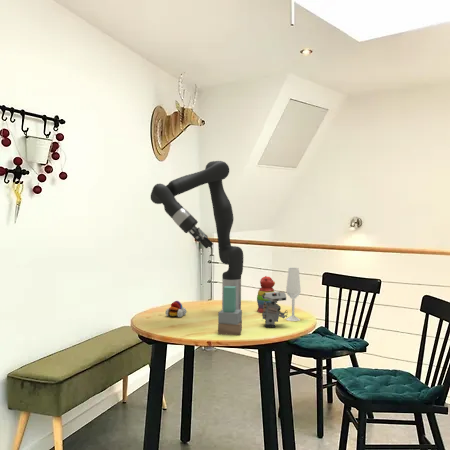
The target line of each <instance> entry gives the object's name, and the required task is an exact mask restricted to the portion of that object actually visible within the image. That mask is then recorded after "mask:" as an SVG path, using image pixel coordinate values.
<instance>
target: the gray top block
mask: <svg viewBox="0 0 450 450" xmlns="http://www.w3.org/2000/svg"><path fill="white" fill-rule="evenodd" d="M242 311H243V310H242V309H241V310H236V311H235V312H223V310H222V309H221V310H219V312H218V314H217V316H218V317H217V318H218V321H217V322H218V323H219V324H234V325H238V324H239V323H240V322H241V321H242V322H243V319H242V318H243V312H242Z"/></svg>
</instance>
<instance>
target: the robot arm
mask: <svg viewBox="0 0 450 450" xmlns="http://www.w3.org/2000/svg"><path fill="white" fill-rule="evenodd" d="M204 168H205V169H203V170H201V171H196V172H193V173H190V174H186V175H183V176H180V177H178V178H174V179H173V180H170V181H169V183H168V184H166V185H165V184H163V183H156V184H155V185H154V186H153V187H152V190H151V193H150V200H151V202H152V203H154V204H156V205H161V204H162V205H163V208H164V212H166V214H167V215H168V216H169V217H170V218H171V219H172V221H174V223H175V224H176V225H177V226H178V227H179V228H180V229H181V230H182V232H184V233H185V234H188V233H189V234H190V235H191V236H192V237H193V238H194V240H195V241H196V242H198V243H200V244H201V245H202V246H203V247H204V248H205V249H208V248H211V247H212V246H213V245H214V243H213V242H212V241H211V240H210V239H209V238H208V237H209V236H208V235H207V234H206V233H205V232H204V231H203V230H202V229H201V228H200V227H197V226H196V225H197V224H198V222H199V221H198V220H197V219H196V218H195V217H194V216H193V215H192V214H191V213H190V212H189V211H188V210H187V209H186V208H184V206H182V204H181V203H180V202H179V201H177V199H176V196H179V195H181V194H184V193H186V192H188V191H191V190H193V189H195V188H198V187H199V186H202V185H205V184H208V189H209V192H210V193H209V194H210V199H211V203H212V211H213V217H214V223H215V229H216V235H217V244H218V245H217V246H218V256H219V261H220V262H221V263H222V264H223V265H227V266H228V269H227V270H226V271H224V272H223V273H222V276H221V277H222V279H221V280H222V286H221V287H222V288H221V291H222V292H221V295H222V298H221V301H222V302H221V310H223V297H224V287H225V286H236V310H242V275H243V271H244V250H243V249H242V247H239V246H235V245H232V244H231V230H232V228H233V224H234V213H233V212H234V211H233V207H232V204H231V200H230V199H229V197H228V195H227V194H226V192H225V189H224V186H223V184H224V183H223V180H225V179H226V178H227V177H229V174H230V166H229V164H228V163H226V162H225V161H222V160H213V161H209V162H208V163H207V164H206V165H205V167H204Z"/></svg>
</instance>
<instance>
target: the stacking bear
mask: <svg viewBox="0 0 450 450" xmlns="http://www.w3.org/2000/svg"><path fill="white" fill-rule="evenodd" d="M259 283H260V288H259V289H258V291H257V296H256V302H257V303H256V304H257V309H256V311H257V312H258V313H260V314H262V313H263V306H264V302H265V301H266V303H272V302H271V301H270V300H268V299H263V298H262V294H264V293H269V292H275V289H274V286H275V284H276V282H275V281H274V280H273V278H272V277H270V276H267V275H265V276H263V277H261V279H260V280H259ZM267 301H268V302H267Z"/></svg>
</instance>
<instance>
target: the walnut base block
mask: <svg viewBox="0 0 450 450" xmlns="http://www.w3.org/2000/svg"><path fill="white" fill-rule="evenodd" d="M242 330H243V320H242V321H241V322H240V323H239V324H238V325H234V324H219V323H218V324H217V335H221V334H222V335H224V336H225V335H226V336H228V335H230V336H240V335H241V334H242Z"/></svg>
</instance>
